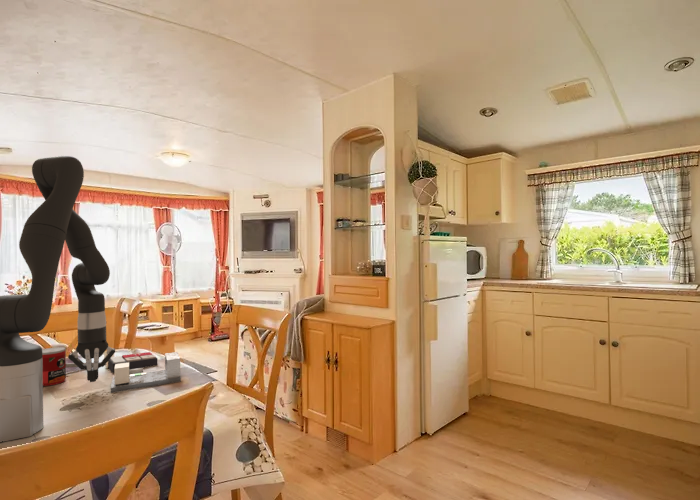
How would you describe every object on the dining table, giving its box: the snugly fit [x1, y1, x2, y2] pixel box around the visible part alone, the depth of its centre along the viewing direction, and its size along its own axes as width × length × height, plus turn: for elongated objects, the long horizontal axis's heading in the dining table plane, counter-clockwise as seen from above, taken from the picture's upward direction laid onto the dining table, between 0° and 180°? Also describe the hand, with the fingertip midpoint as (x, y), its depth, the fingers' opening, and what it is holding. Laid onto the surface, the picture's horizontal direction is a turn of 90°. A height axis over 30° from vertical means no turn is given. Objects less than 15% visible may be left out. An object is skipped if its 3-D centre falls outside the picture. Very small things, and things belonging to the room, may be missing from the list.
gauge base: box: [110, 351, 182, 394], centre depth 131 cm, size 12×20×8 cm, turn 119°
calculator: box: [107, 351, 158, 374], centre depth 151 cm, size 11×4×15 cm
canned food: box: [42, 346, 67, 387], centre depth 133 cm, size 8×8×11 cm
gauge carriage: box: [113, 362, 144, 385], centre depth 130 cm, size 10×8×5 cm
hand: (93, 381), depth 123 cm, fingers closed
